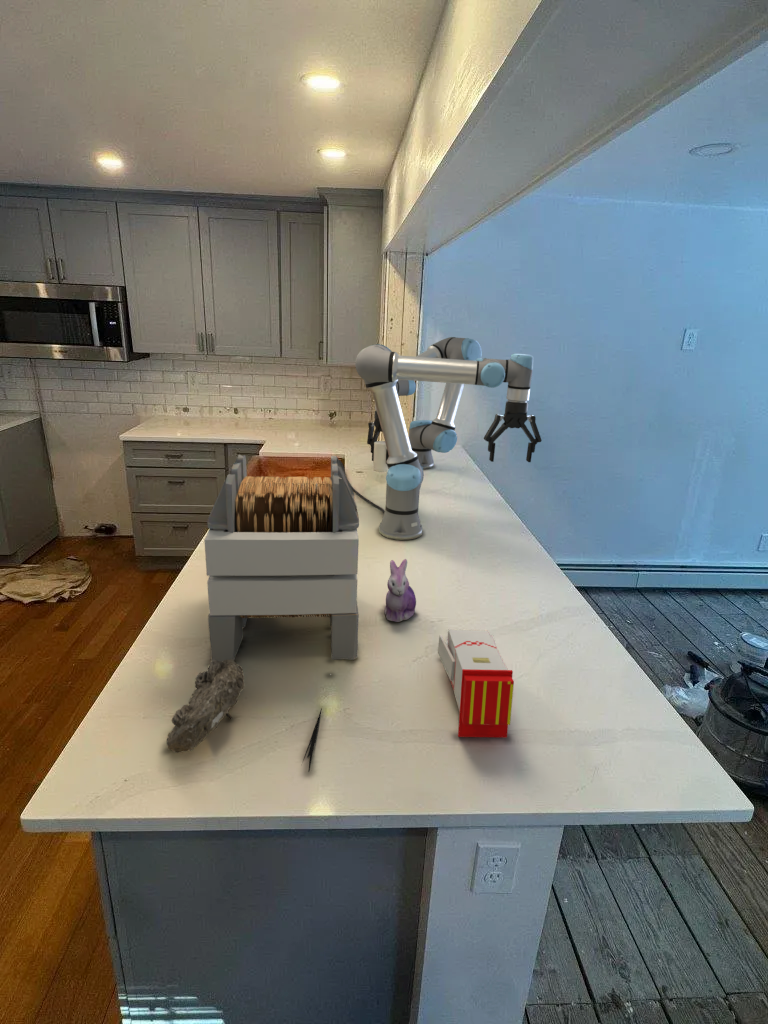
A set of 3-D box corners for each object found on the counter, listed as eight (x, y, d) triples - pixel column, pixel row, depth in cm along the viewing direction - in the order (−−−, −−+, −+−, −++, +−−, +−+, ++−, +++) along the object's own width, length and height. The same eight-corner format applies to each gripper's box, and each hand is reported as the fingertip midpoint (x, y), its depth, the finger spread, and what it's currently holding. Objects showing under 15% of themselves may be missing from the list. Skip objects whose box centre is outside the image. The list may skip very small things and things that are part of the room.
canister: (381, 467, 261) (382, 440, 257) (390, 470, 256) (392, 443, 252) (370, 469, 257) (371, 441, 253) (379, 472, 252) (380, 445, 248)
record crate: (230, 591, 155) (223, 445, 141) (350, 589, 159) (354, 447, 145) (208, 664, 123) (195, 486, 109) (358, 660, 127) (363, 487, 113)
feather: (331, 679, 122) (336, 673, 122) (307, 777, 96) (313, 769, 95) (324, 675, 122) (329, 669, 121) (298, 772, 95) (304, 764, 95)
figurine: (392, 627, 141) (395, 572, 136) (374, 608, 149) (376, 556, 144) (425, 619, 145) (429, 566, 140) (405, 601, 154) (408, 550, 149)
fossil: (192, 660, 117) (244, 628, 112) (224, 691, 120) (276, 661, 115) (142, 746, 98) (202, 712, 93) (182, 779, 101) (242, 748, 96)
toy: (488, 613, 130) (523, 677, 101) (484, 667, 133) (517, 744, 104) (435, 612, 130) (455, 676, 101) (432, 666, 133) (451, 743, 103)
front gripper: (548, 400, 199) (539, 458, 206) (478, 398, 196) (473, 457, 203) (556, 403, 192) (547, 464, 199) (484, 401, 189) (478, 463, 196)
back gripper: (359, 408, 249) (358, 459, 257) (398, 414, 240) (395, 467, 248) (368, 406, 255) (367, 456, 263) (407, 412, 246) (404, 463, 254)
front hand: (509, 461), depth 201 cm, fingers open, 13 cm apart
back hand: (381, 461), depth 255 cm, fingers closed on canister, 7 cm apart
